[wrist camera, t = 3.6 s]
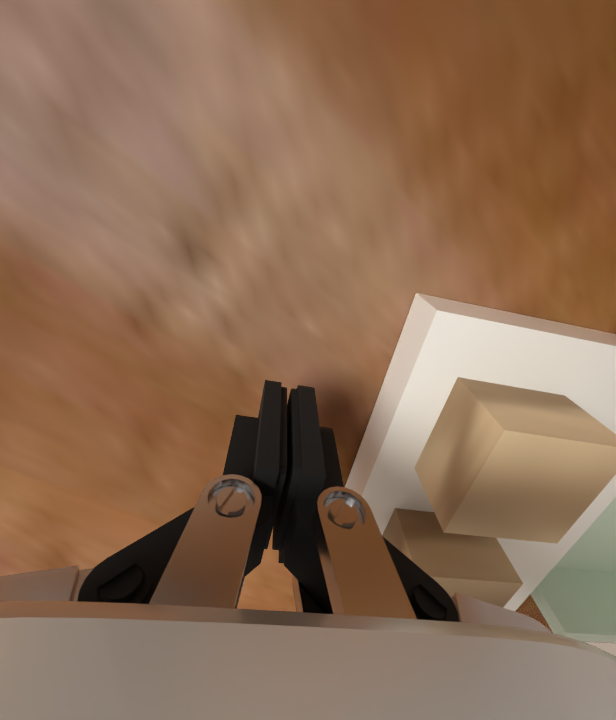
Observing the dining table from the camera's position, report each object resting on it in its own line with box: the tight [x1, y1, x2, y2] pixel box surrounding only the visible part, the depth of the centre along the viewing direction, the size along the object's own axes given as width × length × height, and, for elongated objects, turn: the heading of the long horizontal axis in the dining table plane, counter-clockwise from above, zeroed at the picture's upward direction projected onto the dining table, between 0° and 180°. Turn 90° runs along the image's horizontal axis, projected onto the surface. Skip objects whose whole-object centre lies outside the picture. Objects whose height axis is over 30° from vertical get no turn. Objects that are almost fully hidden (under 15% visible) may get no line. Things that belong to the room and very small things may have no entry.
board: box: [345, 293, 616, 611], centre depth 17 cm, size 20×12×2 cm, turn 168°
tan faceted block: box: [415, 377, 616, 544], centre depth 12 cm, size 4×4×3 cm
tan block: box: [382, 508, 523, 608], centre depth 15 cm, size 4×4×3 cm
